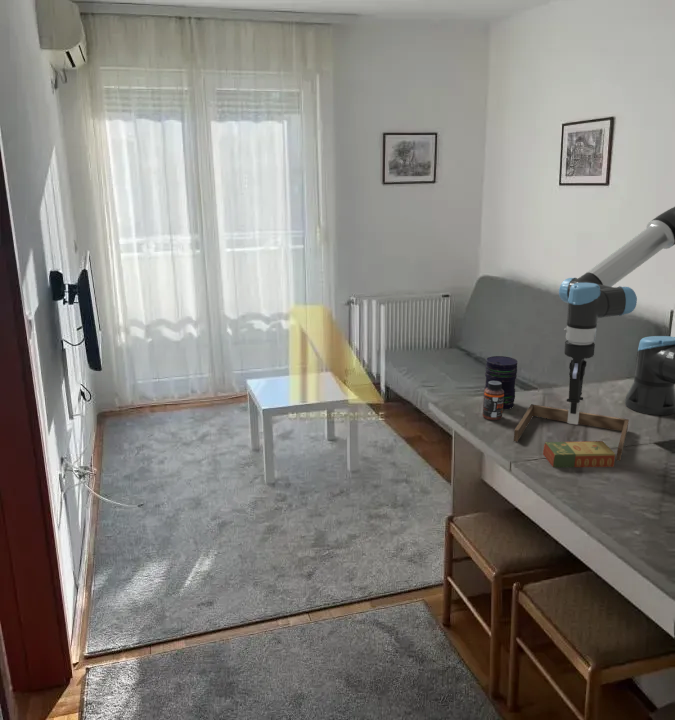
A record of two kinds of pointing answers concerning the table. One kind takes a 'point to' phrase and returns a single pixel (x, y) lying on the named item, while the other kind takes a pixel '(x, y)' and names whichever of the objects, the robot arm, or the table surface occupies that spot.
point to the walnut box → (583, 419)
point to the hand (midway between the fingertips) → (572, 422)
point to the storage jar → (503, 376)
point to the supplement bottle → (493, 401)
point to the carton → (579, 454)
